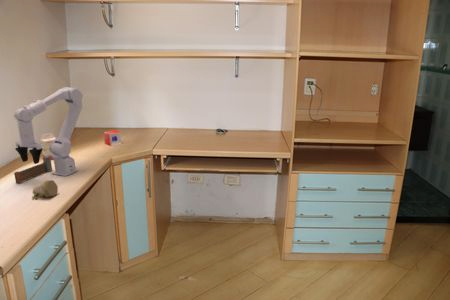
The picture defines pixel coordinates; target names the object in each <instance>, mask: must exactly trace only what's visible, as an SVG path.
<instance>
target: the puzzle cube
mask: <svg viewBox="0 0 450 300" xmlns="http://www.w3.org/2000/svg"><path fill="white" fill-rule="evenodd" d="M103 138H104V139H103V140H104V145H107V146H109V147H112V146H117V145H123V142H122V140H123V139H122V132H121V131H118V130H114V129H113V130H110V131H109V130H108V131H104V132H103Z"/></svg>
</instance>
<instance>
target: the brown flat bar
mask: <svg viewBox="0 0 450 300" xmlns="http://www.w3.org/2000/svg"><path fill="white" fill-rule="evenodd" d="M44 173H48V172H47V170H46V164H45V162H44V161H43V162H41V163H38V164H35V165H34V166H31V167H28V168H25V169H23V170H20V171H14V172H13V174H14V179H15V183H16V184H20V183H22V182H24V181H27V180H30V179H33V178H35V177H36V176H39V175H42V174H44Z"/></svg>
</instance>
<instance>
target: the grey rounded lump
mask: <svg viewBox="0 0 450 300" xmlns="http://www.w3.org/2000/svg"><path fill="white" fill-rule="evenodd" d="M58 190H59V187H58V184H57V183H56V182H55V181H54V180H52V179H51V180H50V179H49V180H46V181H44V182H42V183H41V184H40V185H39V186H35V187H33V189H32V194H33V196H32V197H31V200H34V199H35V200H37V199H40V198H42V197H47V198H48V197H49V198H51V196H52V197H54V196H56V195H57V193H58V192H59V191H58Z"/></svg>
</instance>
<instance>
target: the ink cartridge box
mask: <svg viewBox="0 0 450 300" xmlns="http://www.w3.org/2000/svg"><path fill="white" fill-rule="evenodd" d="M39 136H40V137H39V138H40V140H39V142H40V145H41V148H42V149H43V150H42V152H41V154H42V158H43V157H46V156H49V157H51V158H50V159H51V161H54V159H53V153H51V152H50V149H49V148H50V145H51V144H52V143H53V142H54V140H55V138H57V137H56V136H55V132H49V133H43V134H40V135H39Z"/></svg>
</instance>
